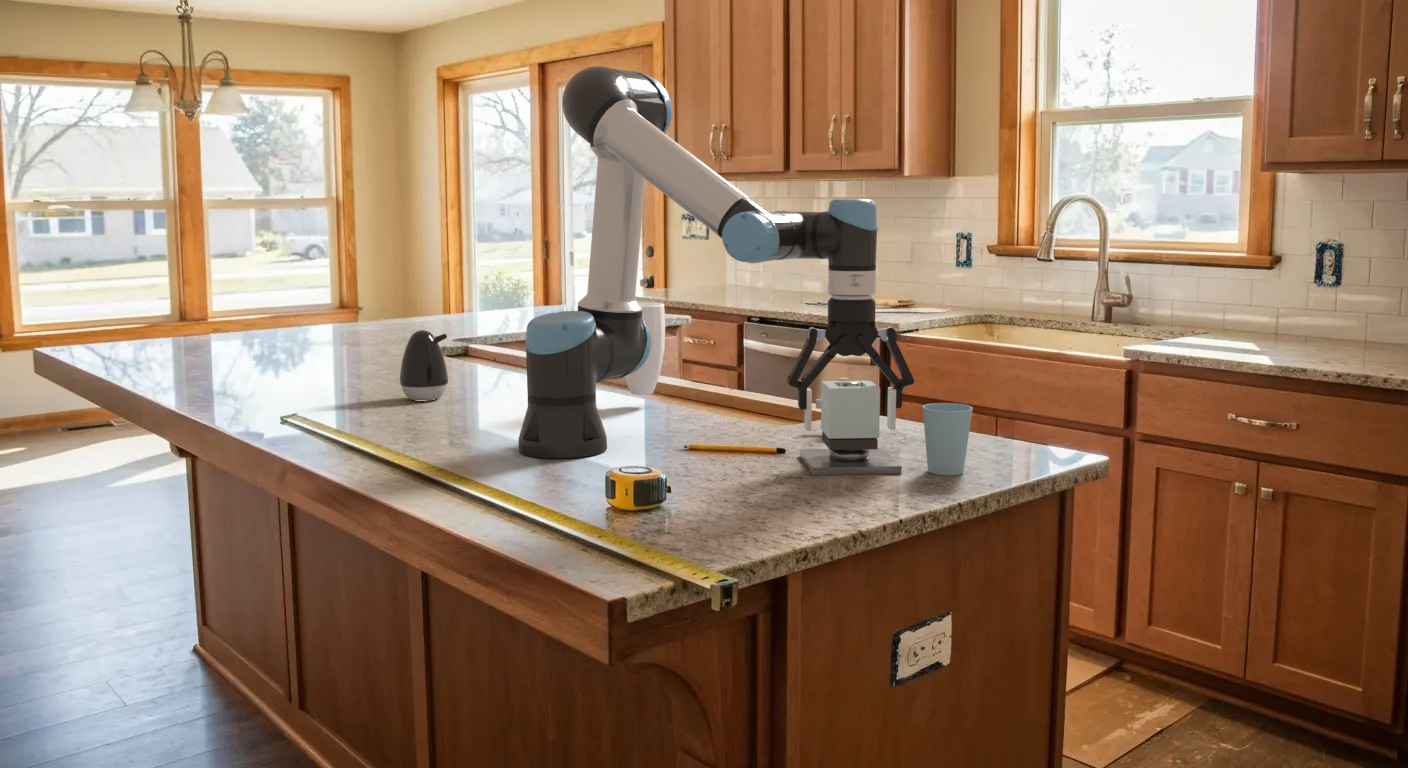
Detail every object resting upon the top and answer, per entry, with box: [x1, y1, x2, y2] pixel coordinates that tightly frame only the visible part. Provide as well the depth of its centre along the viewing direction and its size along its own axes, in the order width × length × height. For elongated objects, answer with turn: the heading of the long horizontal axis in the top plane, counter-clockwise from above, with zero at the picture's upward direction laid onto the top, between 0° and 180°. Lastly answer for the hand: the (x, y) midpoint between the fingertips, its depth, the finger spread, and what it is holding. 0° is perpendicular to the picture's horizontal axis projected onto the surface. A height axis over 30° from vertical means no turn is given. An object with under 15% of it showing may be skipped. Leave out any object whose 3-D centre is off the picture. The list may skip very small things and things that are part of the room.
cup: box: [922, 402, 973, 477], centre depth 185 cm, size 8×8×10 cm
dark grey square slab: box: [821, 430, 879, 450], centre depth 191 cm, size 8×8×2 cm
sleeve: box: [820, 380, 881, 439], centre depth 190 cm, size 8×8×8 cm
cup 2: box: [624, 301, 666, 396], centre depth 245 cm, size 10×10×22 cm
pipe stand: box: [799, 380, 903, 476], centre depth 190 cm, size 14×14×14 cm
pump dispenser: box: [399, 329, 449, 401], centre depth 255 cm, size 10×10×15 cm
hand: (849, 429), depth 190 cm, fingers open, 13 cm apart
